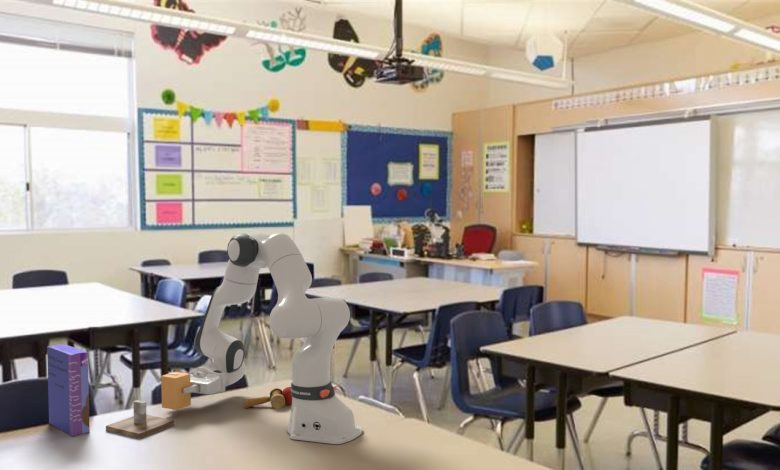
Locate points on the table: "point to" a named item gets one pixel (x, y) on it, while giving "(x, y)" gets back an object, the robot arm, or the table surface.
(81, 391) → the cereal box
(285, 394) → the kendama
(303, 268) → the robot arm
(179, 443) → the table surface
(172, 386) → the orange block
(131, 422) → the shaft base
